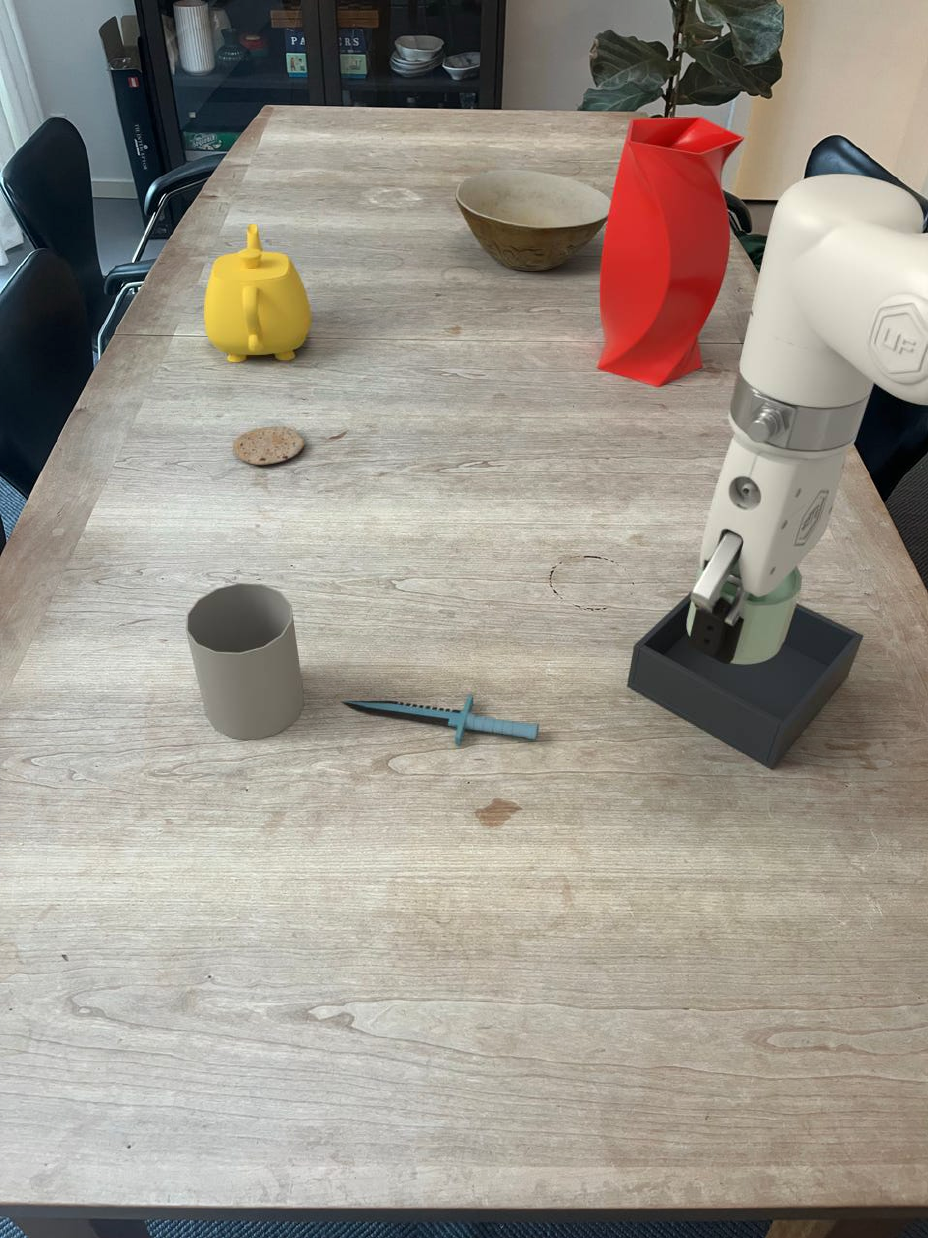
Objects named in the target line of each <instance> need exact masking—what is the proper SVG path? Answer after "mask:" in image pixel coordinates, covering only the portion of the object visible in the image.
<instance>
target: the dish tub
mask: <svg viewBox="0 0 928 1238" xmlns="http://www.w3.org/2000/svg"><path fill="white" fill-rule="evenodd" d="M692 591H693V590H691V591H690V592H689V593H688V594H686V596H685V597H684V598H682V600H681V601H679V603H677V604H676V606H675V607H673V608H672V609H671V610H670V611H669V612H668V613H667V614H666V615H664V616H663V617H662V618H661V619H660V620H659V621H658V622H657V623H656V624H655V625H654V626H653V627H652V628H651V629H649V630H648V631H647V632H646V633H645V634H644V635H643V636H642V637H640V638H639V640H638V641H637V642H636V643H635V644H634V645H633V650H632V655H631V661H630V666H629V672H628V678H627V683H626V687H627V688H629V689H631V690H633V691H634V692H636V693H638V694H640V695H641V696H643V697H645V698H647V699H648V700H650V701H652V702H653V703H655V704H657V705H659V706H660V707H662V708H664V709H666V710H667V711H669V712H671V713H672V714H674V715H676V716H677V717H679V718H681V719H682V720H685V721H686V722H688V723H690V724H692V725H693V726H695V727H697V728H699V729H700V730H702V731H703V732H705V733H707V734H709V735H710V736H712V737H714V738H715V739H717V740H719V741H721V742H722V743H725V744H726V745H728V746H730V747H732V748H733V749H735V750H737V751H738V752H740V753H742V754H743V755H745V756H747V757H748V758H750V759H752V760H754V761H755V762H757V763H759V764H761V765H763V766H764V767H766V768H767V769H769V770H773V769H774V768H775V767H776V765H777V764H778V763H779V762H781V761H780V760H781V759H782V758H783V757H784V756H785V754H787V753H788V751H789V750H790V748H791V747H792V746H793V744H795V742H796V741H797V740H798V738H799V737H800V736H801V735H802V734H803V733H804V731H805V730H806V729H807V728H808V726H809V725H810V724H811V723H812V721H813V720H814V719H815V718H816V717H817V715H818V714H819V712H821V710H822V709H823V707H824V706H825V705H826V704H827V703H828V702H829V700H830V699H831V698H832V696H834V694H835V693H836V692H837V690H838V689H839V688H840V687H841V686H842V684H843V683H844V682H845V680H847V678H848V677H849V674H850V672H851V669H852V667H853V665H854V662H855V659H856V656H857V654H858V651H859V649H860V646H861V643H862V641H863V639H864V635H863V634H861V633H860V632H857V631H855V630H853V629H851V628H849V627H847V626H845V625H843V624H841V623H839V622H838V621H835V620H833V619H830V618H828V617H826V616H824V615H822V614H821V613H818V612H816V611H814V610H812V609H809V608H808V607H806V606H804V605H802V604H800V603H798V602H797V603H796V606H795V609H794V613H793V616H792V619H791V622H790V625H789V628H788V631H787V634H786V637H785V641H784V642H783V644H782V647H781V649H780V650H779V652H778V653H777V654H776V655H775V656H773V657H772V658H770V659H768V660H766V661H763V662H760V663H756V664H734V663H729V664H723V663H721V662H719V661H718V660H716V659H714V658H712V657H710V656H708V655H706V654H704V653H702V652H700V651H698V650H696V649H694V648H693V647H691V646H690V644H689V638H690V636H689V634H688V631H687V618H688V614H689V609H690V604H691V598H690V597H691V593H692Z"/></svg>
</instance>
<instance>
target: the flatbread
mask: <svg viewBox="0 0 928 1238" xmlns="http://www.w3.org/2000/svg"><path fill="white" fill-rule="evenodd" d="M305 445H306V440H305V439H304V438H303V437H302V436H301V435H300V434H298V432H296V431H295V430H294V429H292V428H290V427H287V426H264V427H259V428H256V429H251V430H248V431H246V432H244V433H243V434H240V435H239V436H238V437H236V438H235V439H234V440H233V443H232V449H233V452H234V454H235V456H236V457H237V458H238V459H239V460H241V461H243V462H245V463H248V464H250V465H253V466H265V465H273V464H277V463H278V464H279V463H282V462H285V461H287V460H290V459H292V458H294V457H295V456H296V455H298V454H299V453H300V452H301V451H302V450H303V448H304V446H305Z"/></svg>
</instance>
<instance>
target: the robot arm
mask: <svg viewBox="0 0 928 1238" xmlns="http://www.w3.org/2000/svg"><path fill="white" fill-rule="evenodd" d="M924 222H925V221H924V213H923V210H922V207H921V205H920V202H919V201H918V200H917V199H916V198H915V197H914V196H913V195H912V194H911V193H910V192H909V191H907V190H905V189H904V188H902V187H900V186H899V185H895V184H893V183H890V182H889V181H885V180H881V179H878V178H875V177H870V176H865V175H858V174H849V173H847V174H846V173H833V174H832V173H831V174H820V175H815V176H809V177H806V178H803V179H801V180H799V181H798V182H796V183H793V184H792V185H790V186H789V187H788V188H787V189H786V190H785V191H784V193H782V194H781V196H780V198H779V199H778V201H777V203H776V206H775V207H774V210H773V214H772V218H771V221H770V224H769V230H768V233H767V238H766V243H765V248H764V251H763V256H762V261H761V266H760V270H759V275H758V279H757V283H756V287H755V292H754V295H753V296H754V297H753V300H752V302H753V303H752V304H751V305H752V306H751V311H750V315H749V319H748V323H747V328H746V333H745V337H744V342H743V346H742V350H741V356H740V359H739V364H738V369H737V374H736V378H735V383H734V387H733V391H732V396H731V399H730V400H731V401H730V405H729V410H728V413H727V419H728V420H727V421H728V424H729V427H730V428H731V429H732V431H733V434H732V438H731V441H730V443H729V445H728V448H727V449H728V450H727V452H726V455H725V458H724V461H723V464H722V467H721V470H720V473H719V477H718V480H717V483H716V486H715V489H714V493H713V496H712V500H711V504H710V507H709V511H708V515H707V519H706V522H705V527H704V531H703V535H702V539H701V545H700V552H699V565H700V566H701V568H702V570H703V571H704V572H703V573H702V575H701V577H700V579H699V580H698V582H697V584H696V586H695V585H694V587H693V589H692V590H691V591H692V593H691V597H690V598H691V600H692V601H693V602H694V604H695V608H696V612H695V616H694V621H693V625H692V629H691V634H690V638H689V644H690V646H691V647H693V648H694V649H696V650H698V651H700V652H702V653H704V654H706V655H708V656H710V657H712V658H714V659H716V660H718V661H719V662H721V663H723V664H729V663H730V662H731V661H732V660H733V658H734V655H735V651H736V648H737V644H738V641H739V637H740V634H741V630H742V626H743V623H744V619H743V618H741V617H740V614H741V612H742V610H743V608H744V605H745V603H746V601H747V599H748V596H749V594H750V593H752V594H754V596H757V597H760V596H764V595H766V594H768V593H770V592H772V591H773V590H774V589H775V588H776V587H777V586H778V585H779V584H780V583H781V582H782V581H783V580H784V579H785V578H786V577H787V576H788V575H789V574H790V573H791V571H792V570H793V569H794V568H795V567H796V566H797V567H798V565H799V564H800V563H801V562H802V561H803V560H804V559H805V558H806V556H807V555H809V553H810V552H811V551H812V550H813V549H814V548H815V547H816V545H817V544H818V543H819V542H820V541H821V539H822V537H823V536H824V535H825V532H826V530H827V527H828V525H829V521H830V518H831V515H832V512H833V508H834V504H835V500H836V496H837V492H838V489H839V485H840V481H841V478H842V475H843V470H844V466H845V462H846V459H847V454H848V450H850V448H851V447H852V446H853V445H854V444H855V442H856V439H857V436H858V433H859V430H860V428H861V424H862V421H863V418H864V414H865V412H866V410H867V409H866V408H867V406H868V403H869V399H870V396H871V394H872V390H873V387H874V385H876V386H878V387H879V388H881V389H882V390H884V391H885V392H887V393H889V394H890V395H892V396H893V397H896V398H898V399H900V400H903V401H905V402H909V403H911V404H916V405H920V406H921V405H922V406H928V232H925V233H923V232H924ZM736 563H737V564H739V570H740V574H739V573H737V572H735V571H733V568H734V566H735V565H736ZM725 582H728V583H730V584H732V585H735V586H737V587H739V588H738V590H737V592H736V594H735V597H734V599H733V601H732V604H730V603H729V602H728V601H727V600H725V599H723V598H721V594H720V593H721V590H722V588H723V586H724V584H725Z"/></svg>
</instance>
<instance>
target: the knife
mask: <svg viewBox="0 0 928 1238" xmlns="http://www.w3.org/2000/svg"><path fill="white" fill-rule="evenodd" d="M341 703H343V704H345V705H346V706H348V707H349V708H351V709H354V710H356V711H359V712H362V713H365V714H371V715H378V716H385V717H392V718H397V719H405V720H412V721H419V722H427V723H433V724H440V725H441V724H442V725H447V726H448V727H454V728H456V733H455V737H454V739H455V741H454V742H455V745H457V746H461V745H462V741H463V740H464V736H465V733H466V730H471V731H473V730H474V731H477V732H485V733H492V734H498V735H499V734H500V735H502V734H503V735H507V736H514V737H520V738H527V739H528V740H533V741H536V740H537V738H538V734H539V727H540V726H539V723H535V722H534V723H528V722H521V721H515V720H508V719H507V720H505V719H500V718H497V719H496V718H493V717H486V716H479V715H478V716H477V715H475V714H474V713H472V710H473V709H472V708H473V705H474V694H470V693H469V694H467V697H466V700H465V703H464V706H463V708H461V709H452V710H451V708H446V709H444V707H439V709H438V707H437V706H433V707H432V708H431V705H426V706H425V707H424V704H419V706H418V704H417V703H413V704H412V705H411V702H406V703H405V702H403V701H401V702H399V701H397V700H396V701H395V700H347V701H344V700H343V701H342V700H341Z"/></svg>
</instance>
